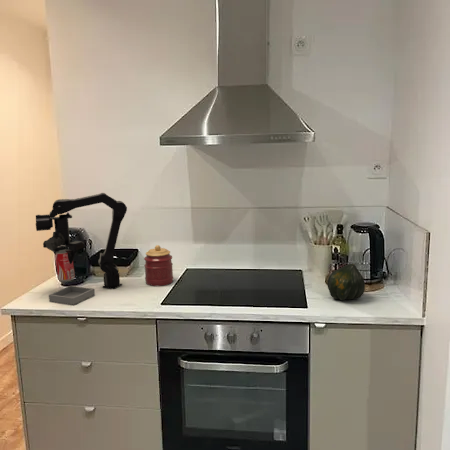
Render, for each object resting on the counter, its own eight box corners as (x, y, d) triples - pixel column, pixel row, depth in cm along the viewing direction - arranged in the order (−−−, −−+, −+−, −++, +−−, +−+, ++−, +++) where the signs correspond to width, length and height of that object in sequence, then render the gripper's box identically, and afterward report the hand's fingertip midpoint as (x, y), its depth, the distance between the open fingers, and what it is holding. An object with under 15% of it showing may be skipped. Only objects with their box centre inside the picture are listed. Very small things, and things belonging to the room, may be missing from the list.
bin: (94, 295, 205) (94, 288, 204) (73, 305, 193) (73, 298, 193) (71, 292, 210) (70, 285, 210) (49, 301, 199) (48, 294, 198)
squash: (314, 284, 195) (337, 261, 186) (334, 277, 205) (356, 255, 197) (336, 312, 189) (360, 290, 180) (355, 304, 199) (379, 282, 191)
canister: (161, 288, 213) (159, 249, 209) (139, 284, 219) (137, 246, 216) (179, 280, 223) (177, 243, 220) (157, 276, 230) (155, 241, 227)
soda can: (77, 277, 213) (74, 249, 211) (70, 282, 206) (67, 253, 204) (62, 277, 214) (59, 249, 212) (55, 282, 207) (51, 253, 205)
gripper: (31, 231, 203) (35, 266, 206) (64, 233, 195) (68, 270, 198) (51, 226, 213) (54, 260, 216) (83, 228, 205) (86, 263, 208)
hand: (65, 263), depth 209 cm, fingers closed on soda can, 6 cm apart
